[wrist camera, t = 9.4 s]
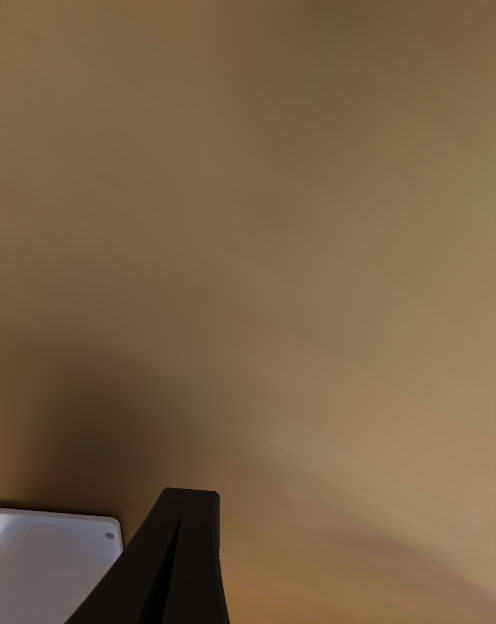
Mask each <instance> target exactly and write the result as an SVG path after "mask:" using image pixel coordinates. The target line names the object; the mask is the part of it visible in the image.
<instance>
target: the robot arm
mask: <svg viewBox="0 0 496 624" xmlns="http://www.w3.org/2000/svg"><path fill="white" fill-rule="evenodd" d="M219 549H220V495H219V494H218V493H217V492H216V491H206V490H193V489H181V488H168V487H167V488H165V489H164V490H163V491H162V493H161V494H160V496H159V498H158V499H157V501H156V503H155V504H154V506H153V508H152V509H151V511H150V512H149V514H148V516H147V517H146V519H145V520H144V522H143V523H142V525H141V526H140V528H139V529H138V530H137V532H136V533H135V535H134V536H133V538H132V539H131V540H130V542H129V543H128V545H127V546H126V547H125V549H124V550H123V546H122V538H121V530H120V524H119V522H118V521H117V520H116V519H115V518H112V517H101V516H89V515H77V514H65V513H53V512H41V511H29V510H17V509H5V508H0V624H230V621H229V616H228V611H227V606H226V600H225V595H224V589H223V583H222V576H221V568H220V560H219Z"/></svg>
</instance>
